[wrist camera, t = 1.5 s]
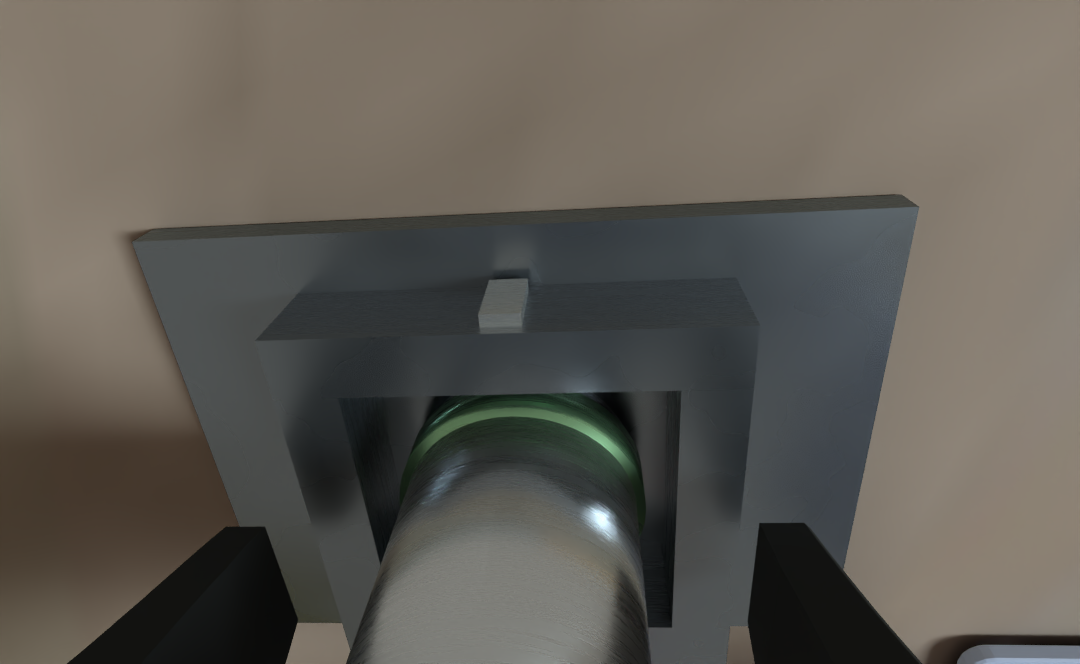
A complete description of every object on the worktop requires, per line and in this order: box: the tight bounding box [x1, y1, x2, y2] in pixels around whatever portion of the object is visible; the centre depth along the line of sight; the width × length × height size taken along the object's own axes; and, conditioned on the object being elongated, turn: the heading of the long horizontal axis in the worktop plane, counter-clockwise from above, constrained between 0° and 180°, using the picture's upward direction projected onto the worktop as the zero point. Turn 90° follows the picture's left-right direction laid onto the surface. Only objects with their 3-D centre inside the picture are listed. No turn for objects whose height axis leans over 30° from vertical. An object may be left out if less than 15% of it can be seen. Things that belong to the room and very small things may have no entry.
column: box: [346, 393, 652, 664], centre depth 10 cm, size 4×4×6 cm
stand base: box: [132, 195, 919, 664], centre depth 12 cm, size 12×9×2 cm
